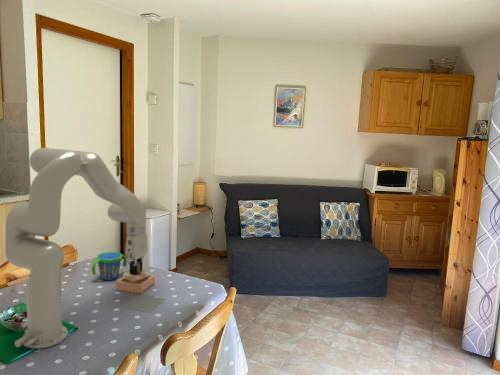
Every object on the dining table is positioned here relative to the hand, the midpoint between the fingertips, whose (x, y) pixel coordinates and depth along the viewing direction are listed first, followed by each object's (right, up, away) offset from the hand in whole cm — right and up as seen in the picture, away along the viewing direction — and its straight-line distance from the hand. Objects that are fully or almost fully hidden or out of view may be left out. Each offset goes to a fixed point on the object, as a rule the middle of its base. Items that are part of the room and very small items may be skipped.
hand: (136, 272), depth 158 cm
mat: (+7, -9, -13) cm, 18 cm away
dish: (0, -7, +1) cm, 7 cm away
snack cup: (-15, -5, +10) cm, 18 cm away
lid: (0, -1, 0) cm, 1 cm away
